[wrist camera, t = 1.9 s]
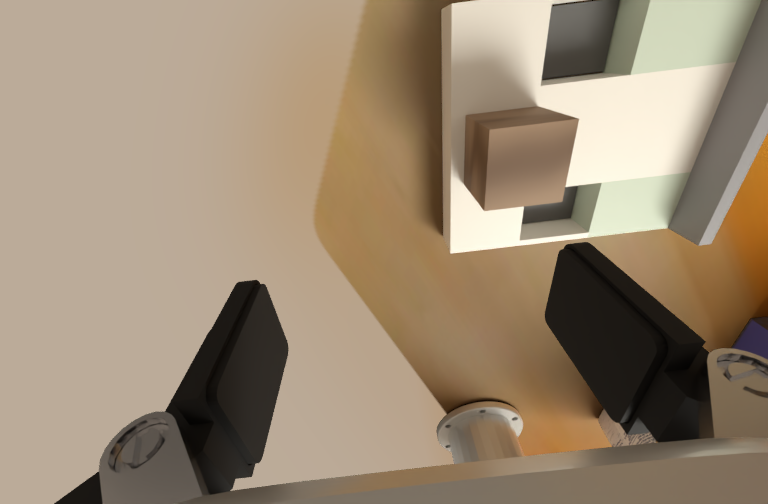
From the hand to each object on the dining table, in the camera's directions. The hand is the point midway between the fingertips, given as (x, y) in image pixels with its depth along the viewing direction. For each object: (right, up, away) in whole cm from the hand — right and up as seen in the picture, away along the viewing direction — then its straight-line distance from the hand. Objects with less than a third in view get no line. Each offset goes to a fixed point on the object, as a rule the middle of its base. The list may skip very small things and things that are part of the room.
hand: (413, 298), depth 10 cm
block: (+7, +9, +13) cm, 18 cm away
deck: (+14, +11, +16) cm, 24 cm away
